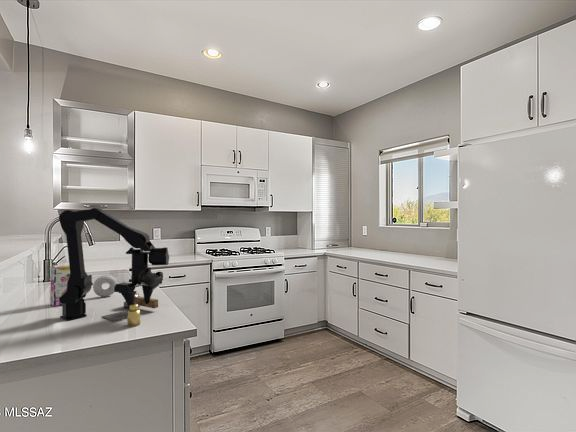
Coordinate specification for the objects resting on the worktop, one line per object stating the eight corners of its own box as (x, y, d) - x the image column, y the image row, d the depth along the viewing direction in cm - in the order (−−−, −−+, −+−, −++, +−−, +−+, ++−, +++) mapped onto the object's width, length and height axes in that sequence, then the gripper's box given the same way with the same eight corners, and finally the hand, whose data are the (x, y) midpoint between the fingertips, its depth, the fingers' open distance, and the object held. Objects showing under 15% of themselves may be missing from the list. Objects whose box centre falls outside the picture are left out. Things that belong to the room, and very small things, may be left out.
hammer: (120, 306, 135) (120, 295, 135) (133, 302, 140) (133, 292, 140) (149, 312, 127) (149, 300, 127) (162, 308, 132) (162, 297, 132)
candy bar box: (54, 307, 134) (54, 267, 134) (49, 305, 137) (49, 266, 137) (84, 301, 143) (84, 264, 143) (79, 299, 146) (79, 262, 146)
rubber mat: (113, 321, 117) (113, 320, 117) (101, 317, 122) (101, 316, 122) (136, 315, 124) (136, 314, 124) (123, 311, 129) (123, 310, 129)
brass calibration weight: (131, 327, 112) (131, 307, 111) (125, 325, 114) (125, 305, 114) (142, 324, 115) (142, 304, 115) (135, 322, 117) (135, 302, 117)
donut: (93, 299, 147) (93, 276, 147) (92, 297, 150) (92, 275, 150) (118, 296, 153) (118, 274, 153) (117, 294, 156) (117, 273, 156)
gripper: (138, 270, 114) (137, 315, 114) (173, 263, 132) (173, 302, 132) (113, 268, 118) (112, 312, 118) (150, 261, 135) (150, 299, 135)
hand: (139, 306), depth 126 cm, fingers open, 7 cm apart
